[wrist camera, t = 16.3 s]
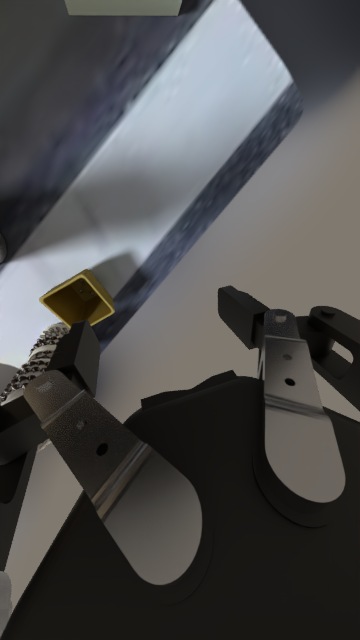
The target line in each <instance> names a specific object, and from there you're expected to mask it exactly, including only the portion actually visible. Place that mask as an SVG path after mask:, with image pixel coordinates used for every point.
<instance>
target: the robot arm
mask: <svg viewBox="0 0 360 640" xmlns="http://www.w3.org/2000/svg"><path fill="white" fill-rule="evenodd" d="M6 254H7V247H6V243H5V240H4V238H3V236H2V235H1V233H0V263H2V262H3V260H4V259H5V257H6ZM218 313H219V316H220V318H221V319H222V320H223V321H224V322H225V323H226V325H227V326H228V327H229V328H230V329H231V330H232V331H233V332H234V333H235V334H236V336H237V337H239V339H240V340H241V341H242V342H243V343H244V344H245V346H246V347H247V348H248V349H249V350H250V349H253V348H258V349H259V352H258V366H257V378H253V377H247V376H236V374H235V373H234V371H233V370H230V371H227V372H224V373H221V374H218V375H215V376H212V377H210V378H209V379H207V380H205V381H203V382H202V383H200V384H199V385H197V386H195V387H194V388H192V389H189V390H178V391H168V392H163V393H159V394H156V395H154V396H151V397H147V398H144V399H141V406H142V408H140V409H139V410H137V411H136V412H135V413H133V414H132V415H131V416H130V417H129V418H128V419H127V420H126V421H125V422H124V423H123V424H122V423H121V422H120V421H119V420H118V419H116V418H115V417H114V416H113V415H112V414H111V413H110V412H109V411H107V410H106V409H105V408H104V407H103V406H102V405H101V404H100V403H98V401H96V400H95V399H94V397H95V394H96V384H97V376H98V367H99V359H100V344H99V341H98V339H97V337H96V335H95V333H94V331H93V329H92V327H91V325H90V323H89V321H88V320H84V321H80V322H76V323H73V324H72V326H71V328H70V331H69V333H67V334H65V335H64V336H63V337H62V338H61V339H60V340H59V341H58V343H57V345H56V349H55V350H54V352H53V355H52V357H51V359H50V362H49V364H48V366H47V369H46V371H45V372H44V373H42V374H40V375H39V376H37V377H35V378H34V379H33V380H32V381H31V382H30V383H29V384H28V385H27V386H26V388H25V389H24V392H23V395H22V396H20V397H18V398H16V399H14V400H12V401H10V402H8V403H6V404H4V405H2V406H1V405H0V640H360V422H358V421H356V420H354V419H351V418H349V417H346V416H344V415H342V414H339V413H337V412H335V411H333V410H330V409H328V408H326V407H324V406H322V403H321V399H320V395H319V391H318V387H317V383H316V378H315V375H314V370H315V371H316V372H317V373H319V374H320V375H321V376H322V377H323V378H324V379H325V380H326V381H327V382H328V383H330V385H332V386H333V387H334V388H335V389H336V390H337V391H338V392H339V393H340V394H341V395H343V396H344V397H345V398H346V399H347V400H348V401H349V402H350V403H351V404H352V405H353V406H355V407H356V408H357V409H358V410H359V411H360V320H358V319H356V318H354V317H352V316H350V315H348V314H347V313H344V312H343V311H341V310H339V309H336V308H333V307H329V306H316V307H313V308H312V309H311V311H310V314H309V316H298V317H295V315H293V313H291V312H289V311H287V310H283V309H269V308H268V307H267V306H265V305H264V304H262V303H261V302H259V301H257V300H256V299H255V298H253V297H252V296H250V295H249V294H248V293H245V292H242V291H238V290H237V289H235V288H234V287H233V286H226V287H222V288H219V289H218ZM335 341H336V342H338V343H339V344H341V345H342V346H344V347H345V348H346V349H348V350H349V351H350V352H351V353H352V355H353V362H352V364H351V363H350V362H348V361H347V360H346V359H344V358H343V357H342V356H340V355H339V354H337V353H336V352H335V351H333V350H332V347H333V345H334V343H335ZM313 369H314V370H313ZM47 439H50V440H51V442H52V443H53V445H54V446H55V448H56V449H57V451H58V452H59V454H60V455H61V457H62V458H63V460H64V461H65V463H66V464H67V466H68V467H69V469H70V470H71V472H72V473H73V474H74V476H75V477H76V479H77V480H78V482H79V483H80V485H81V486H82V487H83V489H84V490H83V491H82V493H81V495H80V496H79V498H78V500H77V502H76V503H75V505H74V507H73V508H72V510H71V512H70V514H69V516H68V517H67V519H66V520H65V522H64V524H63V526H62V527H61V529H60V531H59V533H58V534H57V536H56V538H55V540H54V541H53V543H52V545H51V546H50V548H49V550H48V552H47V553H46V555H45V557H44V558H43V560H42V562H41V563H40V565H39V567H38V569H37V570H36V572H35V574H34V576H33V577H32V579H31V581H30V582H29V584H28V586H27V587H26V589H25V591H24V593H23V594H22V596H21V598H20V600H19V601H18V603H17V605H16V607H15V609H14V610H13V613H12V614H11V612H12V602H11V600H10V598H11V581H10V578H9V576H8V575H7V573H5V572H4V570H5V566H6V562H7V559H8V555H9V551H10V548H11V544H12V540H13V537H14V533H15V529H16V526H17V522H18V518H19V514H20V511H21V507H22V503H23V500H24V496H25V492H26V489H27V485H28V481H29V477H30V473H31V470H32V466H33V462H34V459H35V455H36V452H37V448H38V445H39V444H41V443H43V442H44V441H46V440H47Z"/></svg>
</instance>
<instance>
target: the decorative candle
mask: <svg viewBox="0 0 360 640" xmlns="http://www.w3.org/2000/svg"><path fill="white" fill-rule="evenodd" d="M69 331H70V328H69V327H68V326H67V325H64V324H55V325H51V326H49V327H47V328H45V330H44V331H43V332H42V334H41V335H40V337H41V339H37V344H35V345H34V348H33V349H31V354H30V355H29V358H28V362H27V363H26V364H24V365H22V367H21V368H20V370H19V371H18V372H17V373H16V375H15V376H14V377H13V380H11V381H10V384H8V385H7V387H6V389H5V390H4V393H2V394H1V395H0V397H1V398H2V400H1V402H2V404H1V406H2V405H4V404H6V403H8V402H10V401H12V400H14V399H16V398H18V397H20V396H22V395H23V392H24V389H25V388H26V386H27V385H28V384H29V383H30V382H31V381H32V380H33V379H34V378H35V377H37V376H39V375H40V374H42V373H44V372H45V371H46V369H47V366H48V364H49V362H50V359H51V357H52V355H53V352H54V350H55V349H56V345H57V343H58V341H59V340H60V339H61V338H62V337H63V336H64V335H65V334H67V333H69ZM12 385H13V386H12ZM7 394H9V396H8V397H7ZM50 442H51V440H50V439H47V440H46V441H44V442H43V443H41V444H39V445H38V448H37V452H38V451H39V450H41V449H43V448H45V447H46V446H47V445H48V444H49V443H50ZM37 452H36V453H37Z"/></svg>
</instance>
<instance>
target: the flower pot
mask: <svg viewBox="0 0 360 640" xmlns="http://www.w3.org/2000/svg"><path fill="white" fill-rule="evenodd" d="M81 280H82V281H83V283H81V282H80V281H81ZM80 290H82V292H80ZM92 292H93V293H94V294H93V295H92V294H91V293H92ZM39 301H40V302H41V303H42V304H43V305H44V306H45V307H47V308H48V309H49V310H50V311H51V312H52V313H54V314H55V315H56V316H57V317H58V318H59V319H60V320H61V321H62V322H64V323H65V324H66V325H67V326H68V327H69V328H71V326H72V324H73V323H76V322H80V321H84V320H88V321H89V323H90V325H91V326H92V325H94V324H96V323H97V322H99V321H101V320H103V319H104V318H106V317H108V316H110V315H112V314H113V313H114V312H115V310H114V305H113V300H112V298H111V296H110V295H109V294H108V292H107V291H106V290H105V289H104V288H103V286H102V285H101V284H100V283H99V282H98V280H97V279H96V278H95V277H94V275H93V274H92V273H91V272H90V270H88V269H85V270H83V271H82V272H80V273H78V274H77V275H75V276H73V277H72V278H70V279H68V280H66V281H65V282H63V283H61V284H59V285H58V286H56V287H54V288H52V289H51V290H50V291H48V292H47V293H46V294H45V295H43V296H42V297H41V298H40V299H39Z"/></svg>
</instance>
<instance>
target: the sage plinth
mask: <svg viewBox="0 0 360 640" xmlns="http://www.w3.org/2000/svg"><path fill="white" fill-rule="evenodd" d="M65 3H66V6H67V10H68V14H69V15H105V16H178V13H179V10H180V7H181V3H182V0H65Z"/></svg>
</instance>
